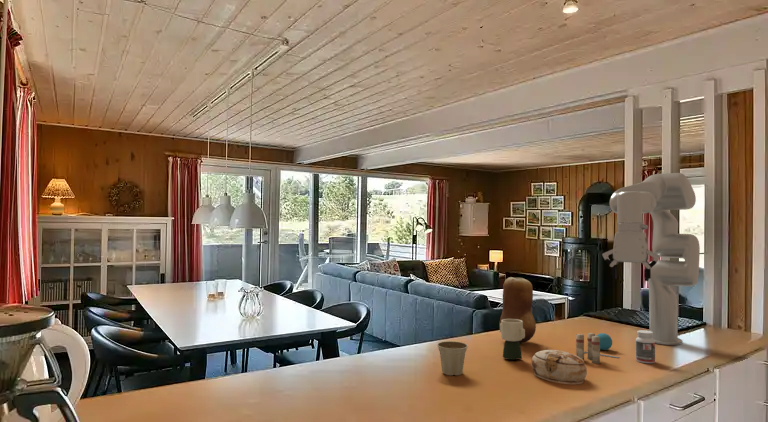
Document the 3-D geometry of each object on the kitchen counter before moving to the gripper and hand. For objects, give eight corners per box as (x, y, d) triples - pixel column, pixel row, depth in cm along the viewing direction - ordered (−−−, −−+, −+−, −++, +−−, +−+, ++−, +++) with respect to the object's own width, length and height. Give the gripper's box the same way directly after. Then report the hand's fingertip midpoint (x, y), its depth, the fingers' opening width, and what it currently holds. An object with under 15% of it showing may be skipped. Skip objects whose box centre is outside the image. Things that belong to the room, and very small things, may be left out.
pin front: (588, 357, 168) (588, 332, 168) (596, 358, 166) (596, 333, 166) (586, 359, 166) (586, 333, 166) (594, 360, 164) (594, 334, 164)
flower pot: (470, 370, 153) (470, 342, 153) (465, 379, 144) (465, 349, 145) (440, 367, 156) (440, 340, 156) (434, 375, 147) (434, 347, 148)
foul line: (577, 351, 176) (577, 350, 176) (619, 357, 168) (619, 357, 168) (576, 351, 175) (576, 351, 175) (618, 358, 167) (618, 357, 167)
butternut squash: (543, 343, 187) (543, 278, 187) (520, 348, 179) (519, 280, 180) (514, 336, 198) (514, 275, 199) (491, 341, 191) (491, 277, 191)
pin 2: (593, 361, 163) (592, 335, 163) (600, 362, 161) (600, 336, 162) (590, 363, 161) (590, 337, 161) (598, 364, 160) (598, 338, 160)
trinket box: (529, 370, 154) (529, 345, 154) (579, 372, 152) (578, 346, 152) (536, 384, 140) (536, 356, 141) (591, 386, 138) (590, 358, 139)
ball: (596, 346, 182) (596, 330, 182) (614, 349, 178) (614, 333, 178) (592, 350, 177) (592, 333, 177) (610, 353, 174) (609, 336, 174)
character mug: (532, 361, 163) (531, 322, 163) (517, 364, 159) (516, 324, 160) (507, 353, 172) (507, 316, 173) (493, 356, 168) (492, 319, 169)
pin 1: (577, 358, 166) (577, 333, 166) (585, 360, 165) (585, 334, 165) (575, 360, 164) (575, 334, 164) (583, 361, 163) (582, 336, 163)
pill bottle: (657, 364, 160) (657, 333, 160) (638, 363, 161) (638, 333, 161) (651, 359, 165) (651, 330, 165) (633, 358, 166) (633, 329, 167)
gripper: (661, 228, 161) (661, 280, 160) (605, 228, 171) (605, 277, 171) (657, 228, 155) (658, 282, 154) (599, 228, 165) (600, 279, 165)
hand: (630, 279), depth 162 cm, fingers open, 9 cm apart
